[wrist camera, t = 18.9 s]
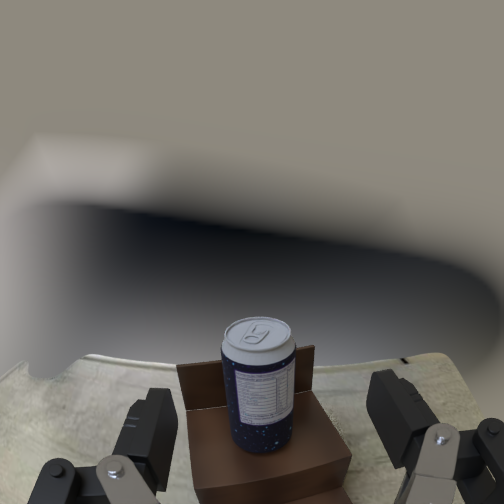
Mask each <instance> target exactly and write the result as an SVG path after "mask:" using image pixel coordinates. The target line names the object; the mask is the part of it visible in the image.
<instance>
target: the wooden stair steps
mask: <svg viewBox="0 0 504 504" xmlns="http://www.w3.org/2000/svg"><path fill="white" fill-rule="evenodd" d="M314 350H315V346H314V345H310V346H305V347H300V348H296V370H295V393H298V394H295V393H294V412H293V429H292V436H291V438H290V440H289V441H288V443H287V444H286V445H284V446H283V447H282V448H280V449H278V450H275V451H272V452H268V453H254V452H249V451H246V450H244V449H242V448H240V447H239V446H238V445H237V444H236V443H235V442H234V441H233V439H232V436H231V430H230V423H229V415H228V407H227V399H226V391H225V383H224V374H223V366H222V360H218V361H209V362H200V363H191V364H181V365H176V368H177V373H178V377H179V382H180V387H181V391H182V396H183V400H184V404H185V409H186V417H187V429H188V440H189V450H190V460H191V469H192V477H193V486H194V490H195V493H196V496H197V498H198V501H199V503H200V504H352V502H351V501H350V499H349V497H348V495H347V494H346V492H345V490H344V488H343V487H342V485H343V482H344V479H345V476H346V473H347V470H348V467H349V464H350V461H351V457H352V453H351V452H350V450H349V449H348V447H347V446H346V444H345V443H344V441H343V439H342V438H341V436H340V435H339V433H338V432H337V430H336V428H335V427H334V425H333V424H332V422H331V421H330V419H329V417H328V416H327V414H326V413H325V411H324V409H323V408H322V406H321V405H320V403H319V401H318V400H317V398H316V397H315V395H314V393H313V392H312V378H313V364H314ZM309 390H311V391H309ZM304 391H306V392H304ZM300 392H302V393H300ZM222 406H225V407H222ZM214 407H218V408H214ZM206 408H210V409H206ZM197 409H201V410H197ZM187 410H192V411H187Z"/></svg>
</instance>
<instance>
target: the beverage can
mask: <svg viewBox="0 0 504 504" xmlns="http://www.w3.org/2000/svg"><path fill="white" fill-rule="evenodd" d="M221 356H222V366H223V374H224V383H225V391H226V399H227V407H228V415H229V423H230V430H231V436H232V439H233V441H234V442H235V443H236V444H237V445H238V446H239V447H240V448H242V449H244V450H246V451H249V452H254V453H268V452H272V451H275V450H278V449H280V448H282V447H283V446H284V445H286V444H287V443H288V441H289V440H290V438H291V436H292V429H293V412H294V393H295V370H296V343H295V341H294V339H293V337H292V336H291V329H290V327H289V326H288V325H287V324H286V323H284V322H282V321H280V320H277V319H274V318H269V317H251V318H246V319H242V320H239V321H236V322H234V323H232V324H231V325H230V326H229V327H228V328H227V329H226V331H225V339H224V341H223V343H222V345H221Z"/></svg>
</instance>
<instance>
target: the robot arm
mask: <svg viewBox="0 0 504 504" xmlns="http://www.w3.org/2000/svg"><path fill="white" fill-rule="evenodd" d="M366 406H367V411H368V414H369V416H370V418H371V420H372V422H373V424H374V426H375V428H376V430H377V432H378V435H379V437H380V439H381V441H382V443H383V445H384V447H385V449H386V451H387V453H388V455H389V458H390V460H391V462H392V464H393V466H394V468H395V469H398V468H401V467H404V466H405V468H406V470H407V472H406V474H405V476H404V479H403V481H402V484H401V487H400V489H399V492H398V494H397V497H396V499H395V501H394V504H452V502H453V498H454V494H455V490H456V485H457V487H458V489H459V491H460V493H461V495H462V498H463V500H464V502H465V504H504V423H503V422H502V421H501V420H499V419H496V418H487V419H484V420H483V421H481V422H480V424H479V426H478V427H477V429H474V430H466V431H458V430H457V429H456V428H455V427H454V426H452V425H449V424H446V423H440V422H439V420H438V419H437V417H436V416H435V415H434V413H433V412H432V410H431V409H430V408H429V406H428V405H427V403H426V402H425V401H424V400H423V398H422V396H421V395H420V394H418V391H417V389H416V388H415V387H414V385H413V384H412V383H410V382H409V381H407V380H405V379H404V378H401V379H398V377H397V376H396V374H395V373H394V372H393V370H392V369H387V370H382V371H377V372H373V373H372V376H371V381H370V386H369V390H368V395H367V400H366ZM123 425H124V426H123V427H122V430H121V432H120V435H119V437H118V440H117V443H116V445H115V448H114V451H113V453H112V455H110V456H107V457H105V458H103V459H102V460H101V461H100V462H99V463H98V465H97V466H91V467H74V466H73V464H72V463H71V462H70V461H68V460H66V459H63V458H55V459H52V460H49V461H48V462H47V463H45V465H44V466H43V467H42V470H41V472H40V474H39V476H38V479H37V481H36V484H35V486H34V488H33V491H32V493H31V496H30V498H29V501H28V503H27V504H160V503H159V501H158V500H157V499H156V492H157V491H162V492H166V488H167V482H168V477H169V471H170V466H171V461H172V455H173V450H174V445H175V440H176V435H177V430H178V418H177V413H176V409H175V406H174V402H173V399H172V395H171V391H170V389H169V388H150V389H149V391H148V394H147V397H146V400H139V399H138V400H137V401H136V402H135V403H134V404H133V405H132V406H131V407H130V409H129V412H128V414H127V419H125V422H124V424H123ZM486 466H488V468H489V470H490V471H491V473H492V475H493V476H494V478H495V480H494V479H493V477H492V475H491V474H490V472H489V470H488V468H487V467H486ZM495 481H496V482H495Z"/></svg>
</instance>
